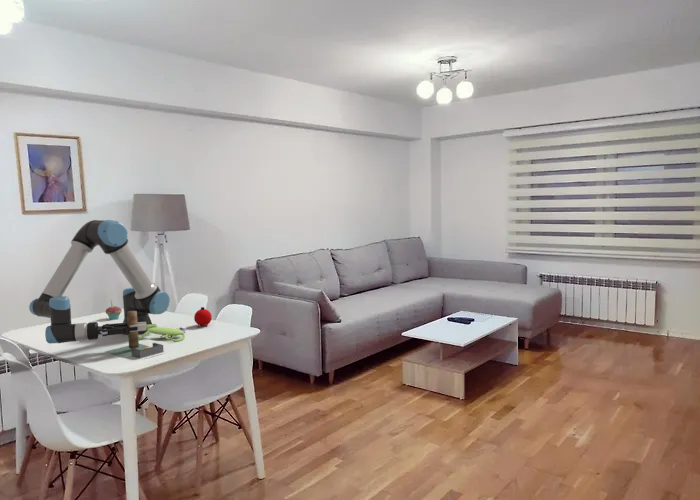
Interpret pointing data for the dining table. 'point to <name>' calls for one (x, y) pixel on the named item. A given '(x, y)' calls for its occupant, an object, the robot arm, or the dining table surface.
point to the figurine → (164, 332)
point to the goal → (147, 351)
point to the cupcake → (113, 312)
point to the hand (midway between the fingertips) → (145, 326)
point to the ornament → (202, 317)
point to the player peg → (133, 335)
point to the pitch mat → (125, 351)
